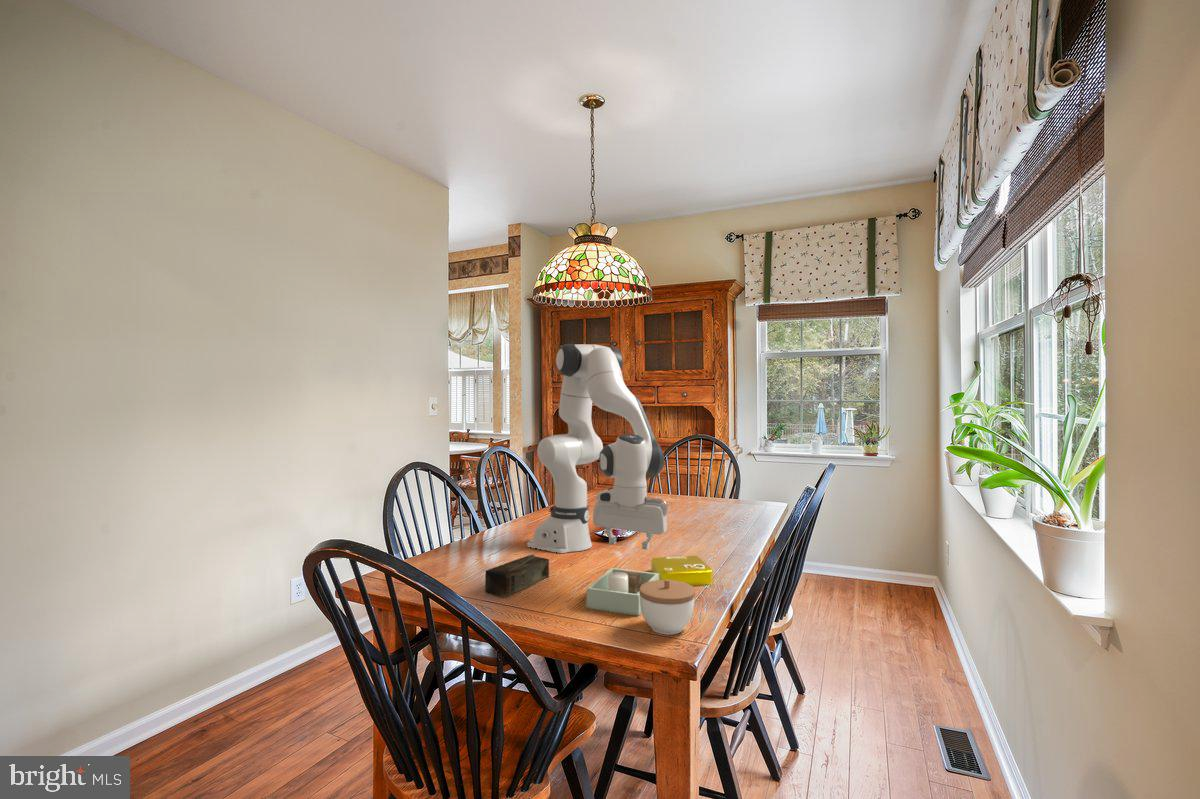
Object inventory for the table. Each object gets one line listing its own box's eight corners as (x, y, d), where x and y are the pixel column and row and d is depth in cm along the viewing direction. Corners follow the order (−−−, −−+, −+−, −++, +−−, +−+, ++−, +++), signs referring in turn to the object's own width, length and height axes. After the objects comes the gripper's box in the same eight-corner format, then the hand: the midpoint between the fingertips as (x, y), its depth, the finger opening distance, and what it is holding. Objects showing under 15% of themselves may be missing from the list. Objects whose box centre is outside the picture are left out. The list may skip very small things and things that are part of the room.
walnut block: (623, 588, 158) (623, 570, 157) (641, 590, 156) (641, 572, 156) (617, 594, 153) (616, 575, 153) (635, 597, 151) (635, 578, 151)
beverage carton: (550, 579, 168) (550, 556, 168) (505, 599, 152) (505, 574, 152) (529, 574, 172) (529, 552, 172) (483, 594, 156) (483, 569, 156)
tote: (586, 608, 145) (586, 588, 145) (611, 585, 161) (611, 567, 161) (638, 616, 140) (638, 595, 140) (659, 592, 156) (659, 573, 156)
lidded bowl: (705, 627, 133) (705, 579, 133) (674, 645, 124) (674, 594, 124) (660, 613, 142) (660, 568, 142) (628, 629, 132) (628, 581, 132)
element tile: (698, 569, 177) (698, 553, 177) (714, 586, 162) (714, 569, 162) (649, 571, 175) (649, 555, 175) (662, 588, 160) (662, 571, 160)
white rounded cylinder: (610, 598, 150) (609, 571, 149) (629, 599, 149) (629, 572, 149) (607, 606, 145) (606, 579, 144) (627, 607, 144) (627, 579, 144)
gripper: (670, 497, 155) (669, 548, 156) (600, 489, 163) (599, 538, 164) (664, 501, 149) (662, 555, 150) (591, 493, 157) (590, 544, 158)
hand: (628, 546), depth 157 cm, fingers open, 8 cm apart
